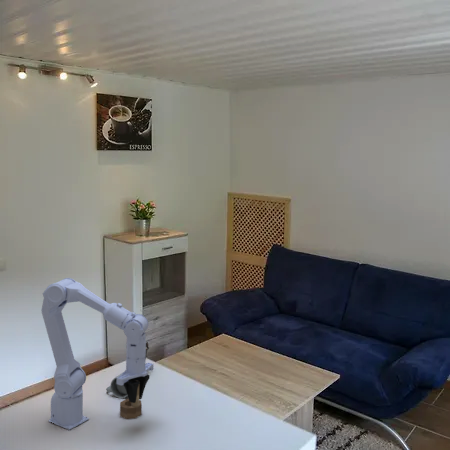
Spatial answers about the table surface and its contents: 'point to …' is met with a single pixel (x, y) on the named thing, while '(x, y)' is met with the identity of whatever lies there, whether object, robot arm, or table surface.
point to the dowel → (136, 399)
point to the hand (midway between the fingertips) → (135, 400)
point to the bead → (129, 410)
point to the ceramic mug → (117, 389)
